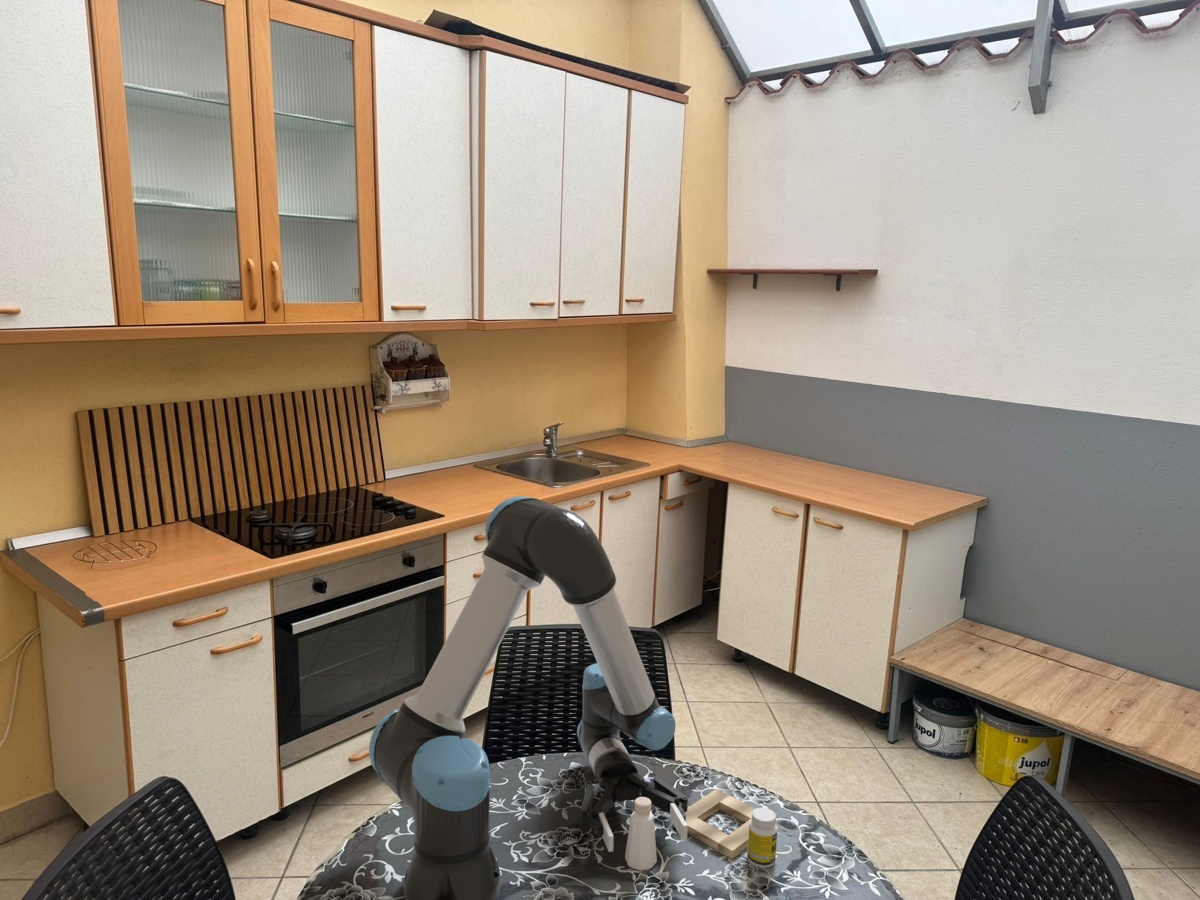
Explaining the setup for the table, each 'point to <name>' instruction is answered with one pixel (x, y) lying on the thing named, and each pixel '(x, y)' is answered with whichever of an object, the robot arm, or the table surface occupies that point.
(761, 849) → the supplement bottle
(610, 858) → the table surface
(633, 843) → the pepper shaker
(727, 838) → the hole block
